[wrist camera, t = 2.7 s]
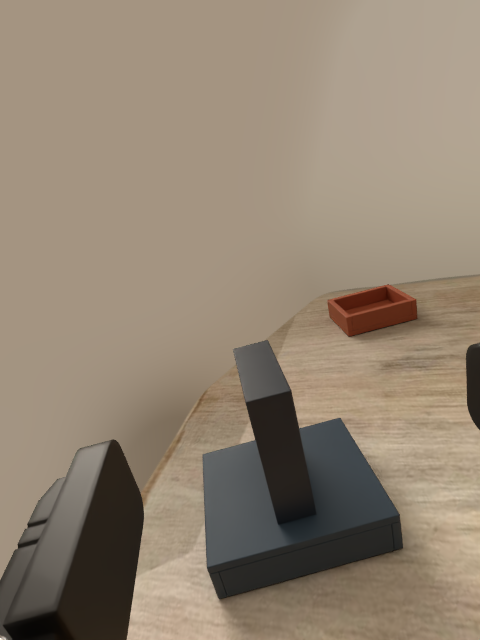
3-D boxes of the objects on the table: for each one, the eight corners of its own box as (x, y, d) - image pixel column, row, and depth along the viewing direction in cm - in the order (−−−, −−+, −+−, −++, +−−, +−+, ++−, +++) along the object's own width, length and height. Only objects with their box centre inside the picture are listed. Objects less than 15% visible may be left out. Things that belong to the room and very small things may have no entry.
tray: (348, 336, 44) (346, 317, 43) (329, 317, 50) (327, 300, 49) (417, 318, 44) (416, 299, 44) (390, 301, 51) (388, 284, 50)
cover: (218, 599, 20) (159, 442, 17) (211, 480, 28) (169, 356, 25) (403, 548, 21) (386, 382, 17) (344, 444, 29) (324, 316, 25)
